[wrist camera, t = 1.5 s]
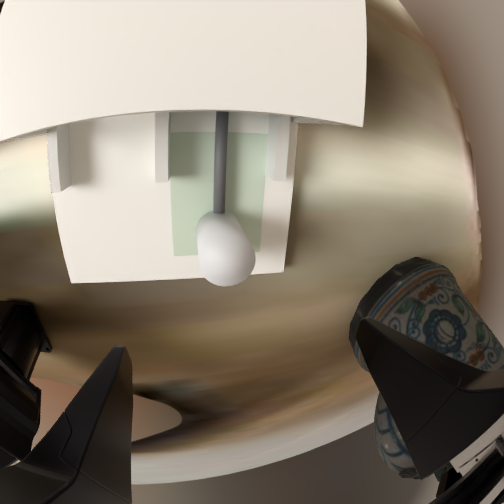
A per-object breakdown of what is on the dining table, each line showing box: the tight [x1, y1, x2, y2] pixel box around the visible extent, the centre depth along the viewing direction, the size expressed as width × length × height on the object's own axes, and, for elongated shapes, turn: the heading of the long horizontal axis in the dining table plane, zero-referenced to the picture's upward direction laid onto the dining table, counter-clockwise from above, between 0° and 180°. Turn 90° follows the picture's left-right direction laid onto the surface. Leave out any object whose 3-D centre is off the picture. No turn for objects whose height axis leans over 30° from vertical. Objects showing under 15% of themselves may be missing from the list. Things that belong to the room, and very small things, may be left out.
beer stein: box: [349, 257, 504, 482], centre depth 21 cm, size 17×19×25 cm
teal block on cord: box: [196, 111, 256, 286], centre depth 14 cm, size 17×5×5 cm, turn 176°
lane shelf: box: [0, 0, 367, 283], centre depth 13 cm, size 21×18×9 cm
